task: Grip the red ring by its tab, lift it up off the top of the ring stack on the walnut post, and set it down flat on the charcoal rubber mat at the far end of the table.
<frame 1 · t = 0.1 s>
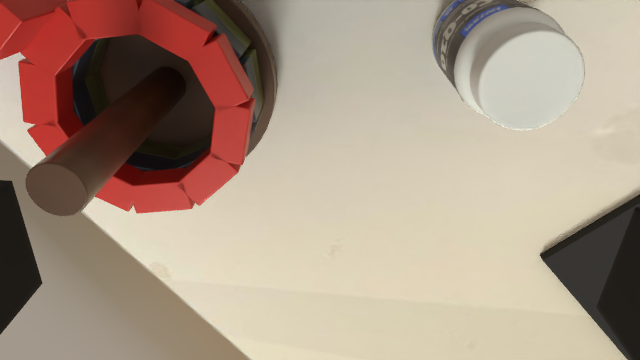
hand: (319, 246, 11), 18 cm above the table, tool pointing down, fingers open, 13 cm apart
pill bottle: (474, 36, 26), on the table
red ring: (147, 104, 23), point 4 cm above the table, touching ring stand
ring stand: (174, 78, 27), on the table
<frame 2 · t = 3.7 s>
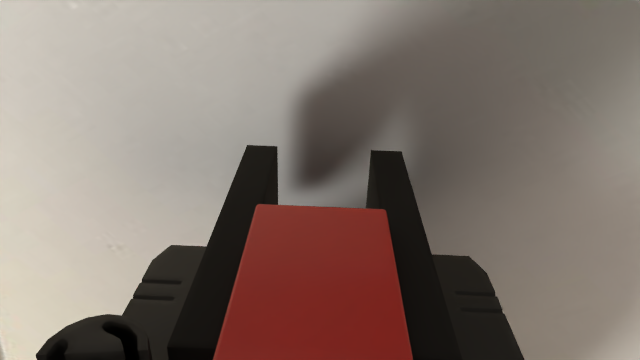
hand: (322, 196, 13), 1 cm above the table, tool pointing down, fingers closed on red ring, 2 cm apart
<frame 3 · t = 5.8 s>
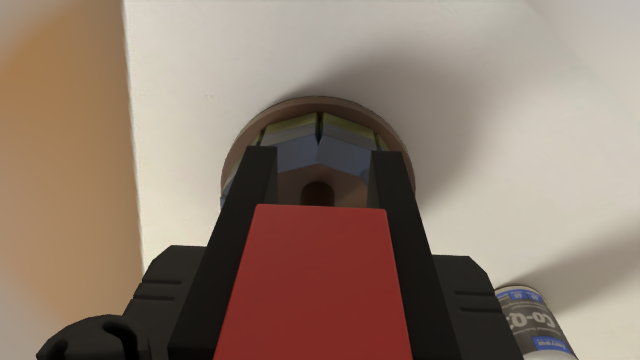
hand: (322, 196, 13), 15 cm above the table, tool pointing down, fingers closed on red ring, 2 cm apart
pill bottle: (509, 307, 34), on the table
ring stand: (318, 186, 30), on the table
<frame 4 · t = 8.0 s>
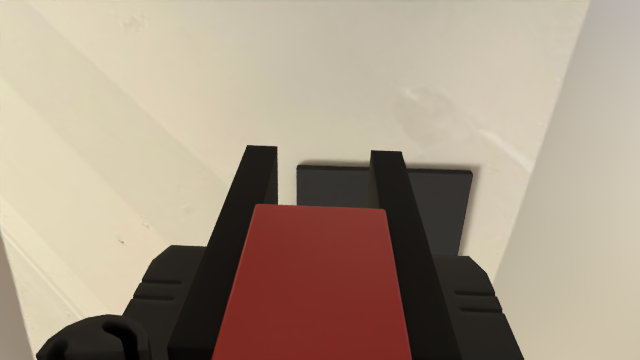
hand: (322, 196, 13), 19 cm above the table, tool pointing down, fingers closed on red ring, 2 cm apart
rubber mat: (376, 249, 37), on the table
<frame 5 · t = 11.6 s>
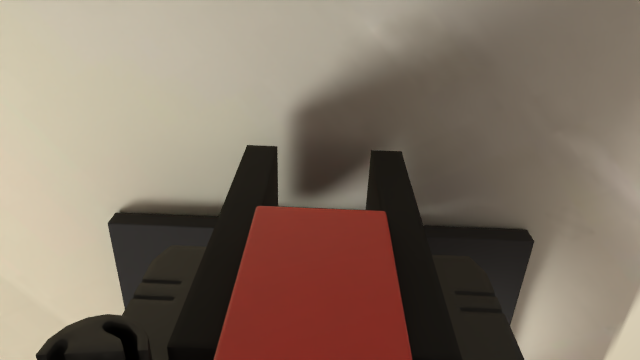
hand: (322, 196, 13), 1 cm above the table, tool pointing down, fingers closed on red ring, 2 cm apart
when the fingers open (1 cm above the table, at t = 12.3 s): red ring drops 4 cm, resting on rubber mat.
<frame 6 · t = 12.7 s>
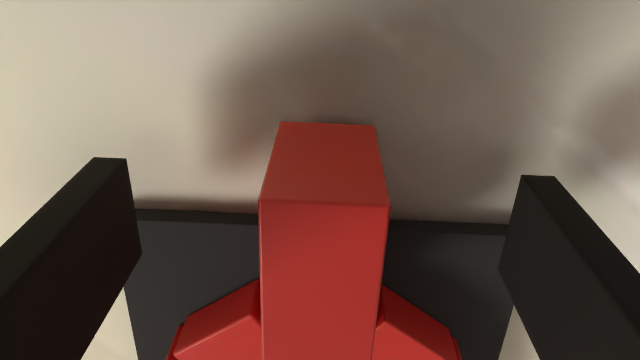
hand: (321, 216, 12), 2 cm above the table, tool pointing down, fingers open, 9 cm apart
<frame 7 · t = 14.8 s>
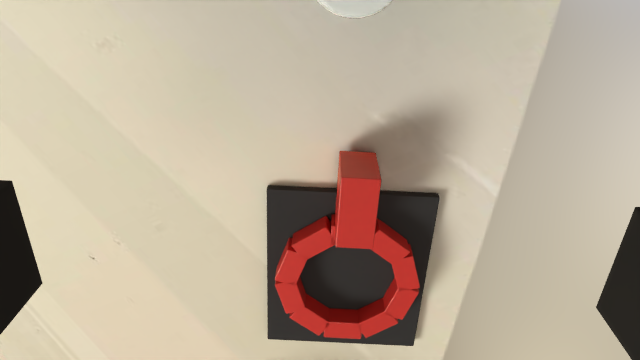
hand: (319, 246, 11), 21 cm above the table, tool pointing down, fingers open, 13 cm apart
red ring: (346, 272, 37), point 1 cm above the table, touching rubber mat
rubber mat: (346, 269, 37), on the table
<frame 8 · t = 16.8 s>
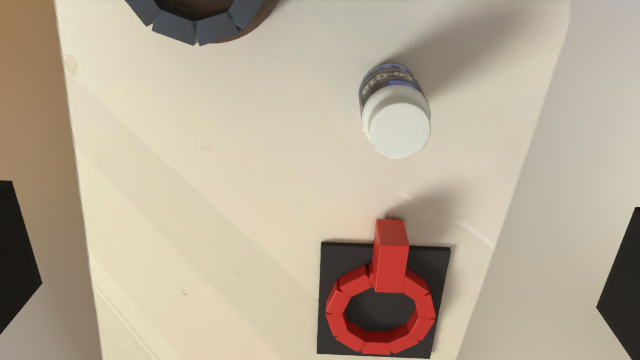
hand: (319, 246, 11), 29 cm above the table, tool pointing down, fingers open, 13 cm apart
pill bottle: (387, 91, 39), on the table
red ring: (379, 304, 48), point 1 cm above the table, touching rubber mat
rubber mat: (378, 301, 49), on the table
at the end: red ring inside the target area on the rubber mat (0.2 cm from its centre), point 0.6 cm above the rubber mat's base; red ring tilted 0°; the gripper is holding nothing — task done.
